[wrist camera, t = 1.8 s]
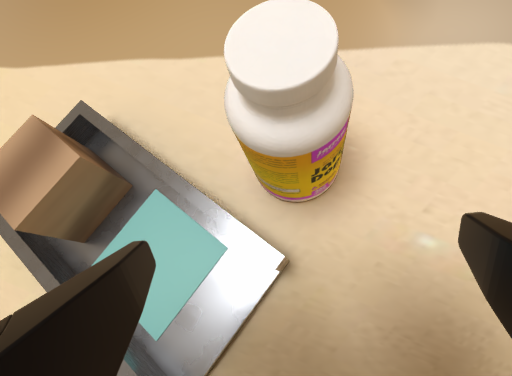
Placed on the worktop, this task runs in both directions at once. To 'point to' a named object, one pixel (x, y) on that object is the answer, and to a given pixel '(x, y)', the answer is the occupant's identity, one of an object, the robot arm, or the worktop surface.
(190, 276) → the shallow metal tray
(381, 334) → the worktop surface
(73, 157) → the walnut block
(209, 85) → the worktop surface
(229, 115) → the supplement bottle
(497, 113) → the worktop surface
